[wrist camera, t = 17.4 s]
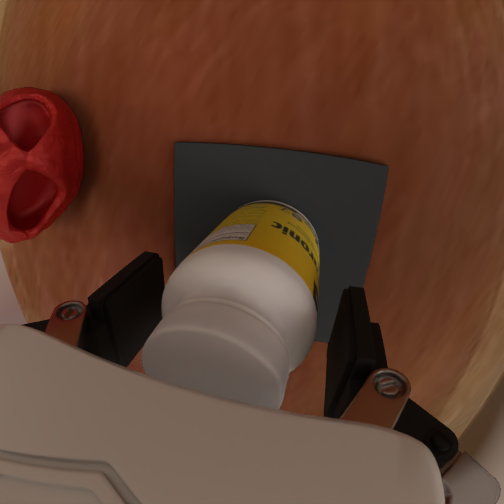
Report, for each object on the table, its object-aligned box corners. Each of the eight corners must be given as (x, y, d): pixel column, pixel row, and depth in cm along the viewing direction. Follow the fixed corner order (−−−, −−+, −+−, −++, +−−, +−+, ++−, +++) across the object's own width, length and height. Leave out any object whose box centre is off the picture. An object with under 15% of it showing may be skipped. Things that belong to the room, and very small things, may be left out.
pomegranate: (27, 213, 20) (-55, 256, 12) (21, 99, 16) (-72, 116, 7) (106, 224, 18) (0, 290, 10) (104, 74, 14) (-24, 72, 6)
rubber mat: (387, 165, 13) (389, 166, 13) (344, 341, 18) (344, 345, 17) (177, 141, 15) (174, 142, 15) (181, 310, 20) (178, 314, 19)
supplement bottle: (333, 276, 16) (331, 435, 7) (243, 299, 18) (178, 438, 9) (300, 182, 14) (263, 276, 5) (205, 216, 16) (85, 320, 7)
